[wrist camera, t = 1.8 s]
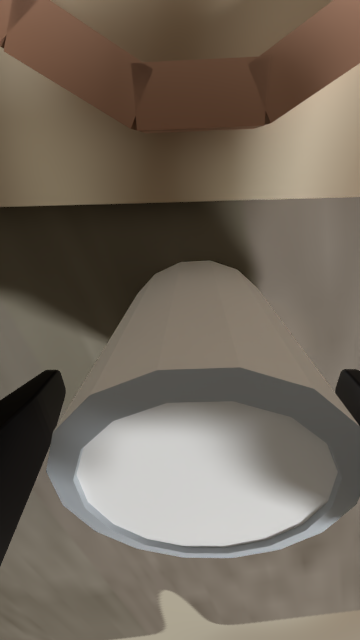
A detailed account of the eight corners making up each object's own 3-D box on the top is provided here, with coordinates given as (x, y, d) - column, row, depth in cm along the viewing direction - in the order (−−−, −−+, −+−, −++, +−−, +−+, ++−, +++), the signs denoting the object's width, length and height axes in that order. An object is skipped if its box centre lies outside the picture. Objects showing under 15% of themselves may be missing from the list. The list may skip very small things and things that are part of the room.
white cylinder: (318, 298, 12) (455, 465, 6) (220, 405, 15) (241, 584, 9) (164, 206, 10) (124, 297, 4) (91, 347, 13) (8, 517, 7)
